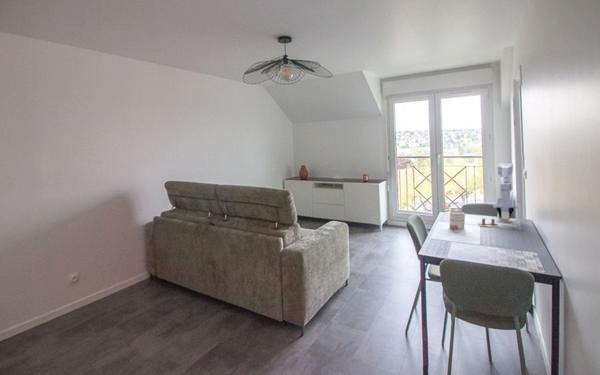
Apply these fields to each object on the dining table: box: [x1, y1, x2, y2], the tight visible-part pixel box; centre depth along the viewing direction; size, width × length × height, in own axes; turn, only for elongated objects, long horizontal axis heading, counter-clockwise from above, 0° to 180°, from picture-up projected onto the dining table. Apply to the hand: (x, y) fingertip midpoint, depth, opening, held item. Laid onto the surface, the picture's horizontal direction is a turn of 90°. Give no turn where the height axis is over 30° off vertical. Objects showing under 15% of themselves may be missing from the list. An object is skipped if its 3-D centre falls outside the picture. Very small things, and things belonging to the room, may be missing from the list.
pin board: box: [477, 218, 500, 228], centre depth 236 cm, size 10×12×5 cm
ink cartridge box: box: [449, 207, 466, 230], centre depth 231 cm, size 9×5×15 cm, turn 84°
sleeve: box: [500, 212, 510, 222], centre depth 235 cm, size 5×6×5 cm
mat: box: [495, 222, 513, 227], centre depth 236 cm, size 9×9×1 cm
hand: (504, 218), depth 235 cm, fingers closed on sleeve, 5 cm apart
